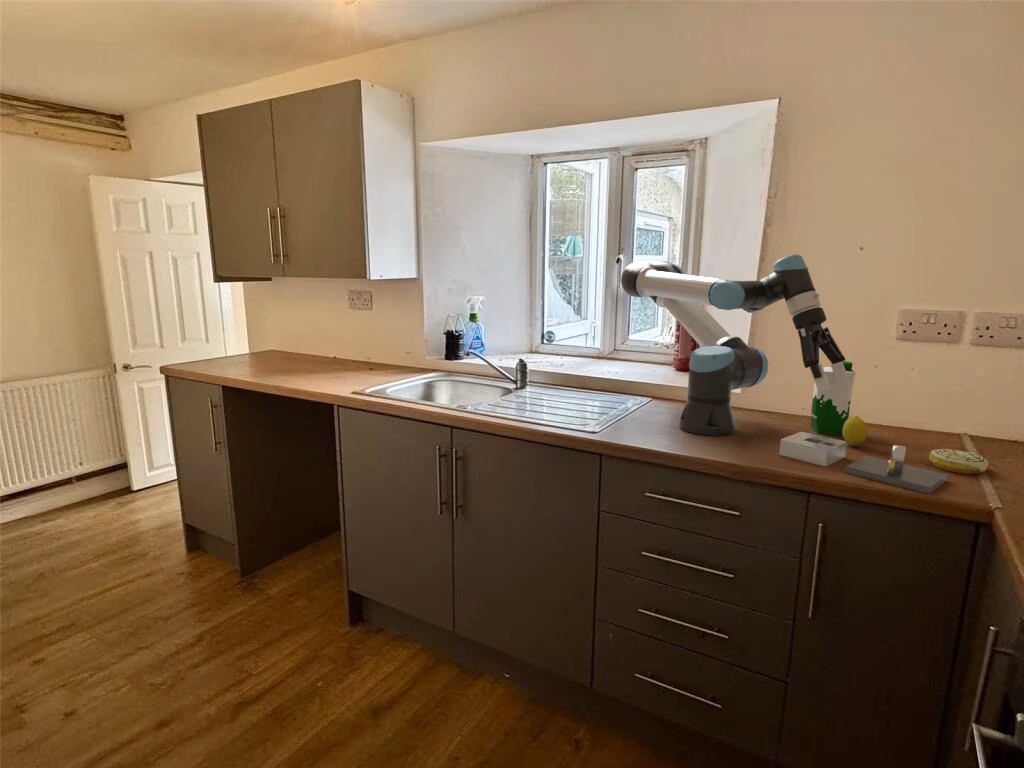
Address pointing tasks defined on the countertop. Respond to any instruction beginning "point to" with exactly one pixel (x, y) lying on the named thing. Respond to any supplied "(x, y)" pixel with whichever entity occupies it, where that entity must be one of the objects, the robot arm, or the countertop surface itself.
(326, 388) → the countertop surface
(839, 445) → the white boxy piece
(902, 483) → the fixture
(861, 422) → the lemon
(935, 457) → the decorated donut
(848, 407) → the milk carton
